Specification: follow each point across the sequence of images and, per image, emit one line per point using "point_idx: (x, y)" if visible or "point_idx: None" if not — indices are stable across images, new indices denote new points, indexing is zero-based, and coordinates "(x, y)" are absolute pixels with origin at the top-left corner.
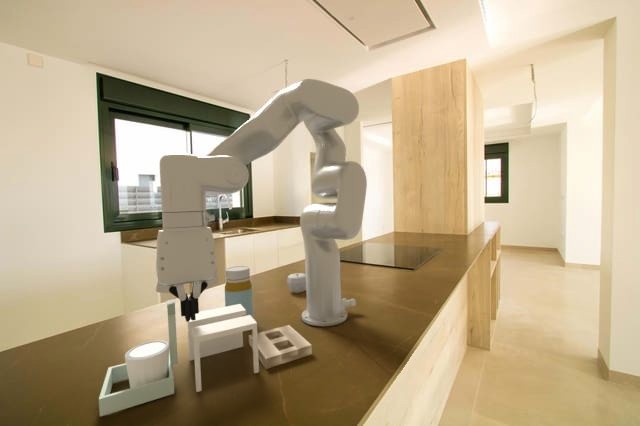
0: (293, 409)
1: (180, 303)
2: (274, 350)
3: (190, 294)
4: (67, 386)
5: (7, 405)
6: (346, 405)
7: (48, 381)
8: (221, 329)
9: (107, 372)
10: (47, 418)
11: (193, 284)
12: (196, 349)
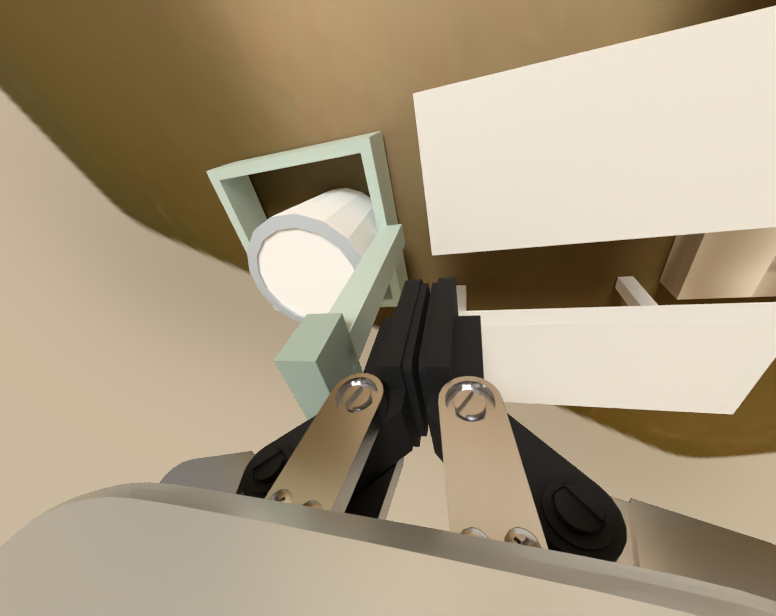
0: (611, 408)
1: (369, 359)
2: (753, 264)
3: (429, 424)
4: (134, 125)
5: (75, 163)
6: (703, 440)
7: (50, 63)
8: (556, 393)
9: (223, 204)
10: (200, 248)
11: (456, 496)
12: None
